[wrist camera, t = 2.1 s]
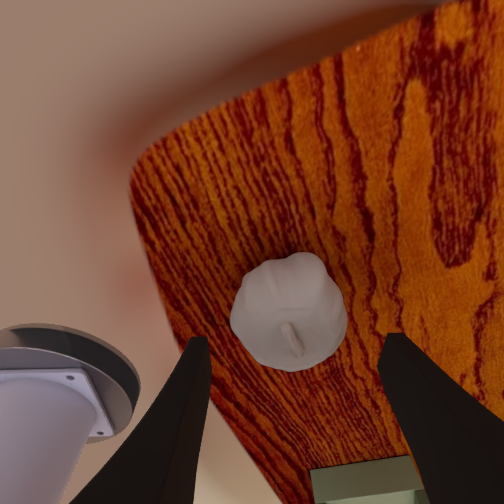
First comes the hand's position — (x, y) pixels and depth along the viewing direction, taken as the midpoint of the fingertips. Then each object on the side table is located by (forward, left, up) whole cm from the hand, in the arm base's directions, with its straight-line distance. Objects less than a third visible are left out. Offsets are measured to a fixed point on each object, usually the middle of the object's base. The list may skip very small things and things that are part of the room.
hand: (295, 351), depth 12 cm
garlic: (0, 0, -5) cm, 5 cm away
